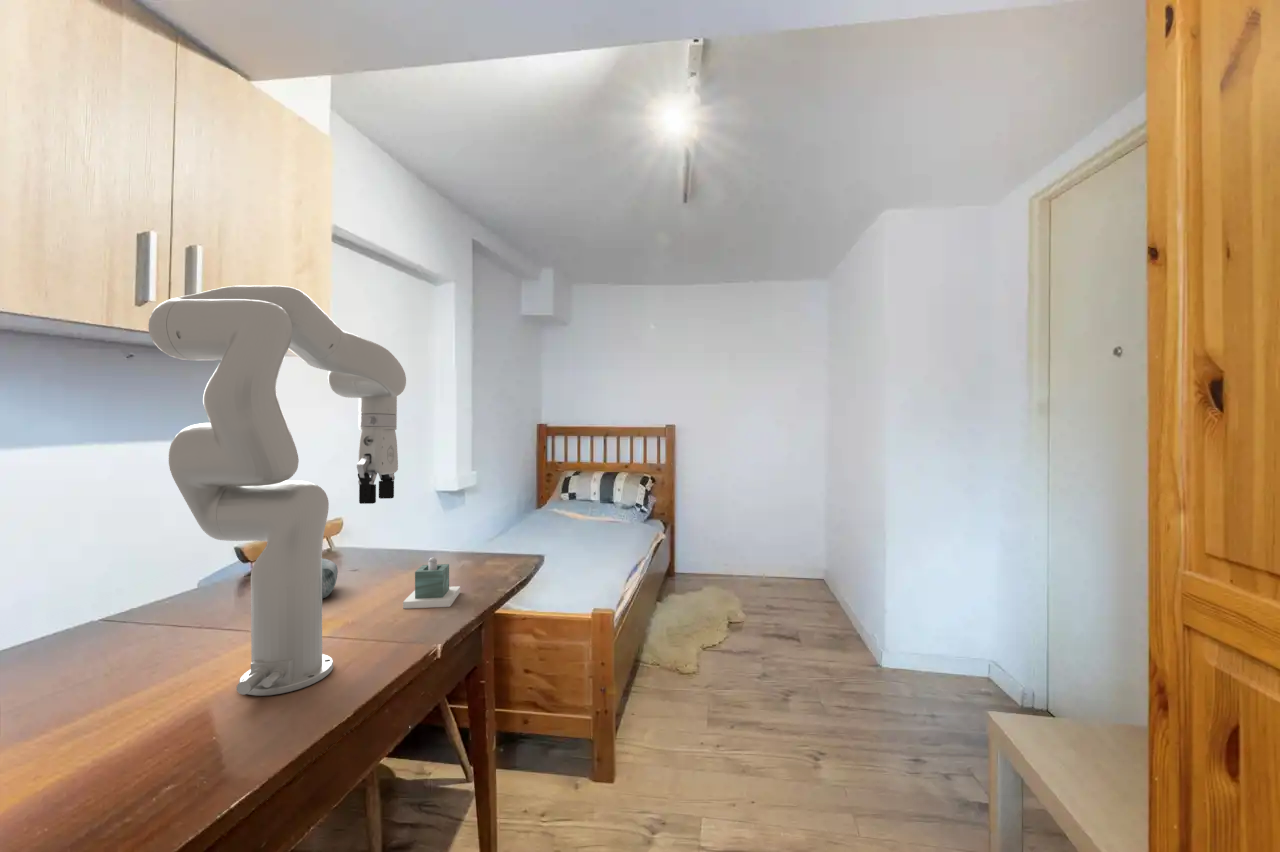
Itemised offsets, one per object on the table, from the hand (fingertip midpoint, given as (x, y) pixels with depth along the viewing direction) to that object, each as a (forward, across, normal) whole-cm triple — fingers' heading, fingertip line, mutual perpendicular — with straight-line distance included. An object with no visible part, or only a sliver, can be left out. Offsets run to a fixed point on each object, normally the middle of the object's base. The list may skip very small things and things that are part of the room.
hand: (377, 500), depth 117 cm
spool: (+24, +12, +19) cm, 33 cm away
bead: (+22, +6, -10) cm, 25 cm away
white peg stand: (+24, +6, -10) cm, 26 cm away
